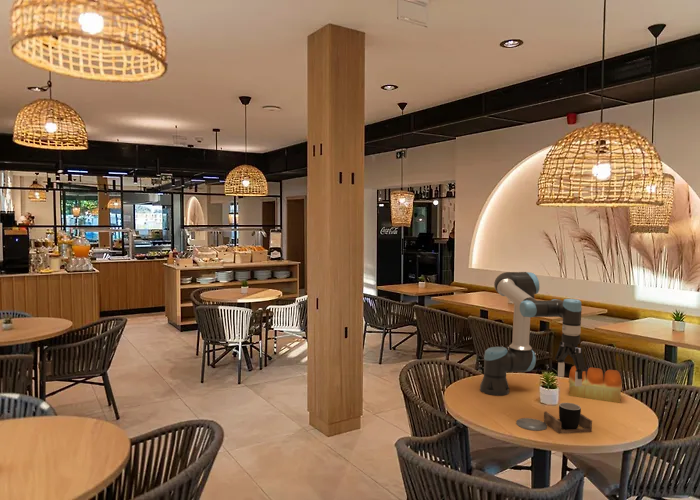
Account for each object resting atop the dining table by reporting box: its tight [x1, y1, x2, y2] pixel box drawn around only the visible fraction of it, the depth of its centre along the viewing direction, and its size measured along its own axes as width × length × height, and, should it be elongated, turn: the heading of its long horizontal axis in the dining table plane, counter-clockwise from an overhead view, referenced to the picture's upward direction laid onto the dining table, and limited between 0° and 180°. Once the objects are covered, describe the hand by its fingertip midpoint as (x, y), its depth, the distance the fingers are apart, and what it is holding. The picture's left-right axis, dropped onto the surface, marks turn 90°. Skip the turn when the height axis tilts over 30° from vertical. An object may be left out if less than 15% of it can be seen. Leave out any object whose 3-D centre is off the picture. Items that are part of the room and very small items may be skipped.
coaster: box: [515, 417, 548, 432], centre depth 234 cm, size 13×13×1 cm
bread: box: [568, 364, 623, 404], centre depth 274 cm, size 25×12×15 cm, turn 65°
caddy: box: [543, 411, 593, 434], centre depth 232 cm, size 13×16×5 cm
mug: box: [558, 402, 582, 430], centre depth 232 cm, size 12×9×10 cm
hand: (569, 381), depth 231 cm, fingers open, 13 cm apart
